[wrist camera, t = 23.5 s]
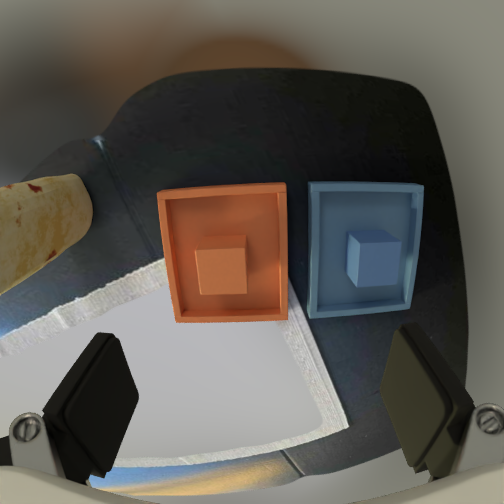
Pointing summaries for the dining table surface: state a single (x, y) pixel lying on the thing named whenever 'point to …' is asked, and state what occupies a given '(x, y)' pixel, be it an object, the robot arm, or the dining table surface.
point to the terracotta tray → (224, 224)
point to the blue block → (372, 258)
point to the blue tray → (359, 219)
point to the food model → (40, 224)
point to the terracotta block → (222, 265)
